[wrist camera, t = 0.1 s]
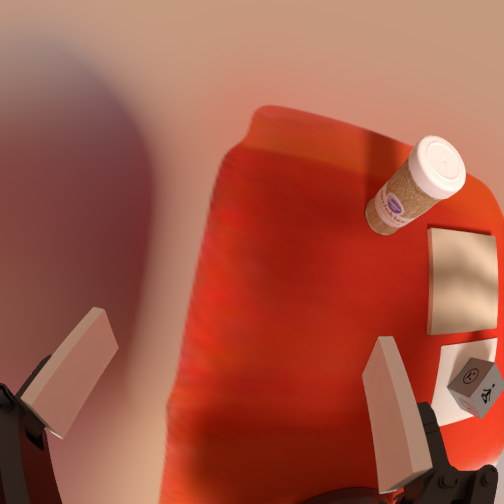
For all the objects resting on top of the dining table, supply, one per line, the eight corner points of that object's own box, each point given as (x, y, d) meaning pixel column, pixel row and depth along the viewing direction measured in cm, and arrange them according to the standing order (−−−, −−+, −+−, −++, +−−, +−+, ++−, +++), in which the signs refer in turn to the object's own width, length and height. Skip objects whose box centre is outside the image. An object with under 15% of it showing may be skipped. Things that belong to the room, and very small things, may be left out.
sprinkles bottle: (356, 218, 28) (408, 157, 15) (377, 190, 28) (430, 122, 15) (387, 245, 27) (457, 203, 14) (406, 215, 27) (473, 163, 14)
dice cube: (446, 387, 23) (469, 397, 18) (470, 357, 23) (495, 362, 18) (460, 408, 22) (481, 419, 17) (483, 379, 22) (505, 386, 17)
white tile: (482, 412, 21) (482, 412, 21) (424, 429, 22) (425, 429, 22) (496, 337, 23) (497, 337, 23) (441, 345, 24) (442, 345, 24)
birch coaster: (491, 327, 23) (496, 327, 22) (426, 334, 25) (430, 335, 24) (490, 238, 25) (495, 236, 24) (427, 229, 27) (431, 227, 26)
